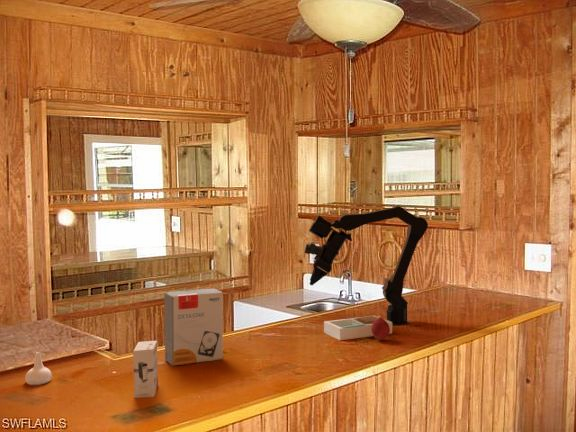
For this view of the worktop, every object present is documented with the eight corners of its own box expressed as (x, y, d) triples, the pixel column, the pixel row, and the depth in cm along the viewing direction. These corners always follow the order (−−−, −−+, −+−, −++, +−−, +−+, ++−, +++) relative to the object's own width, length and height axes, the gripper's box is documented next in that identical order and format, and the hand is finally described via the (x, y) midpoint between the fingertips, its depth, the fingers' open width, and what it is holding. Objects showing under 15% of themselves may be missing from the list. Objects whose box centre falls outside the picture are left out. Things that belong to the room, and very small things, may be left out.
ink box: (139, 386, 155) (138, 340, 155) (158, 385, 156) (157, 339, 155) (133, 398, 147) (132, 350, 146) (154, 397, 147) (153, 349, 146)
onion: (391, 339, 198) (391, 314, 197) (386, 343, 192) (386, 318, 192) (374, 337, 200) (374, 313, 200) (369, 341, 195) (369, 317, 194)
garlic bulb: (42, 388, 156) (43, 358, 155) (19, 385, 157) (21, 354, 156) (55, 380, 162) (57, 351, 162) (34, 377, 163) (35, 348, 163)
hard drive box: (172, 367, 171) (170, 296, 170) (164, 360, 178) (162, 292, 176) (224, 359, 178) (223, 291, 177) (214, 352, 185) (213, 287, 183)
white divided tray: (374, 326, 215) (374, 313, 215) (392, 333, 205) (392, 320, 205) (324, 332, 207) (323, 319, 207) (339, 340, 197) (339, 326, 197)
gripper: (313, 232, 228) (292, 268, 229) (313, 235, 209) (290, 274, 210) (339, 247, 227) (318, 283, 228) (341, 252, 209) (318, 291, 210)
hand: (310, 282), depth 219 cm, fingers open, 9 cm apart
